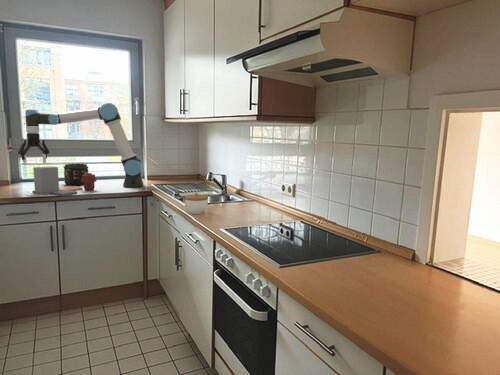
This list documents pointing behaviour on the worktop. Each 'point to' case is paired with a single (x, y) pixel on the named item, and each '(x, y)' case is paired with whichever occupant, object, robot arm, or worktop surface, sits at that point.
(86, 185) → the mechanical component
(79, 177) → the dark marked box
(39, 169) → the grey unit
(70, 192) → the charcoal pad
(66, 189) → the terracotta pad
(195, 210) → the lidded bowl
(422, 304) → the worktop surface
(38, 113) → the robot arm
